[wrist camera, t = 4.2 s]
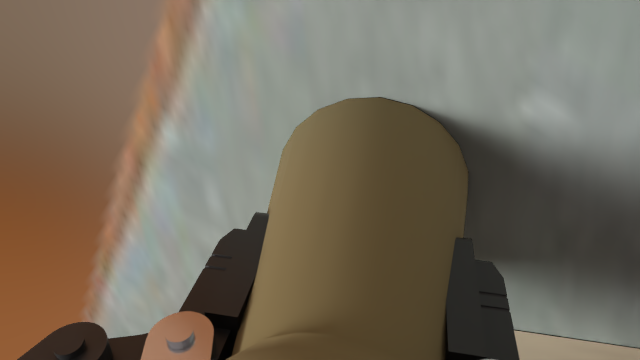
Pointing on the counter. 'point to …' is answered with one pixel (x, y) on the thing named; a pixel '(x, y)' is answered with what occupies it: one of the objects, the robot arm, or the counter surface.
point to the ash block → (569, 349)
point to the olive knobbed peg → (358, 239)
